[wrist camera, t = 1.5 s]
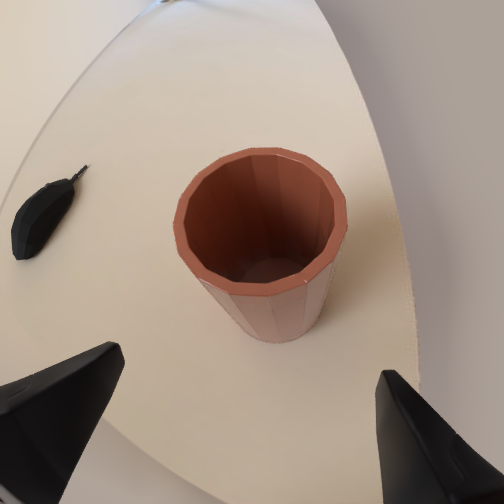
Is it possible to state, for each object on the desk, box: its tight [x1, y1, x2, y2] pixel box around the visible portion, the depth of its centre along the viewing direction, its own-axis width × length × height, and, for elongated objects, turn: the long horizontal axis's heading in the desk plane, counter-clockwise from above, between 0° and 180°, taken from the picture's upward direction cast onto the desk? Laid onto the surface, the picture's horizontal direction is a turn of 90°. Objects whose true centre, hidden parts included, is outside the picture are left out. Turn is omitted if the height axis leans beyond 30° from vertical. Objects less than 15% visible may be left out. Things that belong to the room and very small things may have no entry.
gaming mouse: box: [11, 165, 87, 260], centre depth 29 cm, size 6×15×4 cm, turn 148°
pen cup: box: [173, 148, 347, 343], centre depth 17 cm, size 7×7×12 cm
